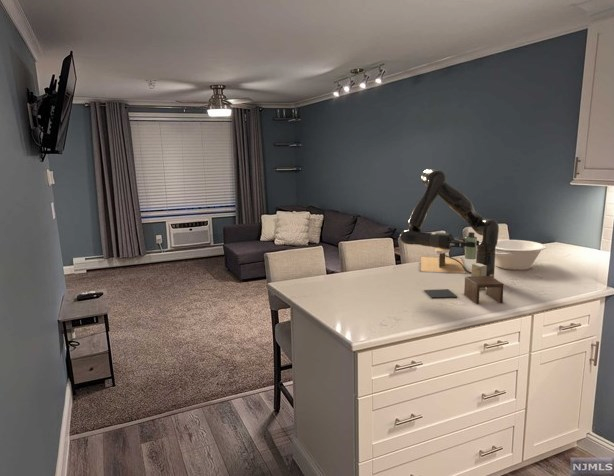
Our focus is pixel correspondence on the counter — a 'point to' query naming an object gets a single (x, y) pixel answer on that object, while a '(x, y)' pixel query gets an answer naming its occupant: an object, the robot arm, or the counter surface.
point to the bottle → (471, 251)
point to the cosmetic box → (479, 270)
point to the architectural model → (442, 263)
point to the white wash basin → (516, 254)
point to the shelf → (479, 282)
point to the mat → (440, 293)
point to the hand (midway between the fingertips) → (476, 244)
